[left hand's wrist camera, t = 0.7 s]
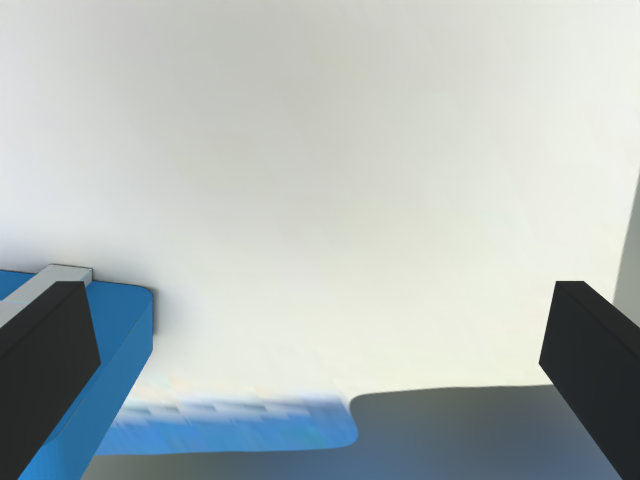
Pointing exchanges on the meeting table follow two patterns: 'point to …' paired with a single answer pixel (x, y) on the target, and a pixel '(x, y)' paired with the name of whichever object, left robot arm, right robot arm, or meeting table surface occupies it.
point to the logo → (109, 379)
